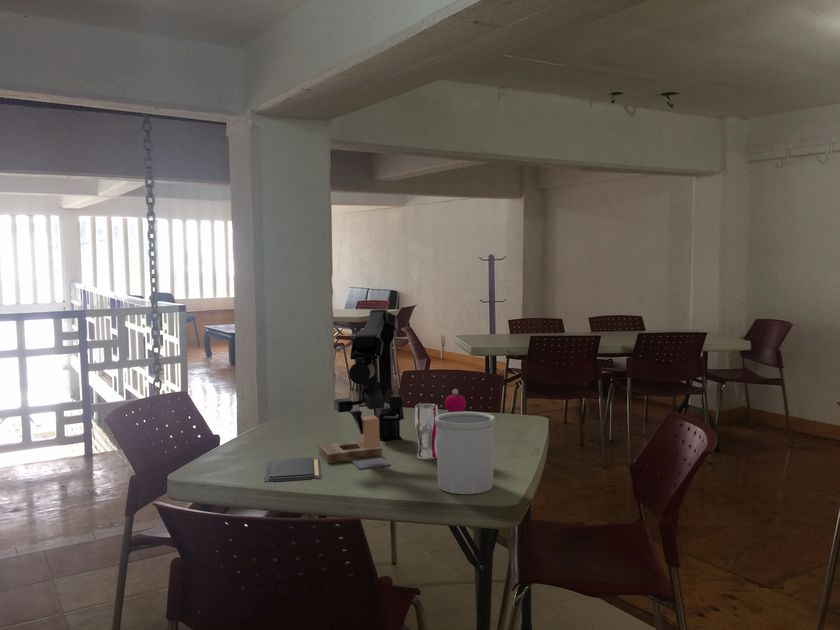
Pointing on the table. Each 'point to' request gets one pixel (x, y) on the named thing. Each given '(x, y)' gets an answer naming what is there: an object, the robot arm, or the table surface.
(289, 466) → the dark blue flat slab
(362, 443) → the block
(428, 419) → the beer glass
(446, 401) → the pepper mill
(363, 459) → the pad
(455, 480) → the utensil holder
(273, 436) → the table surface
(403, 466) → the table surface
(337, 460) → the pocket board
